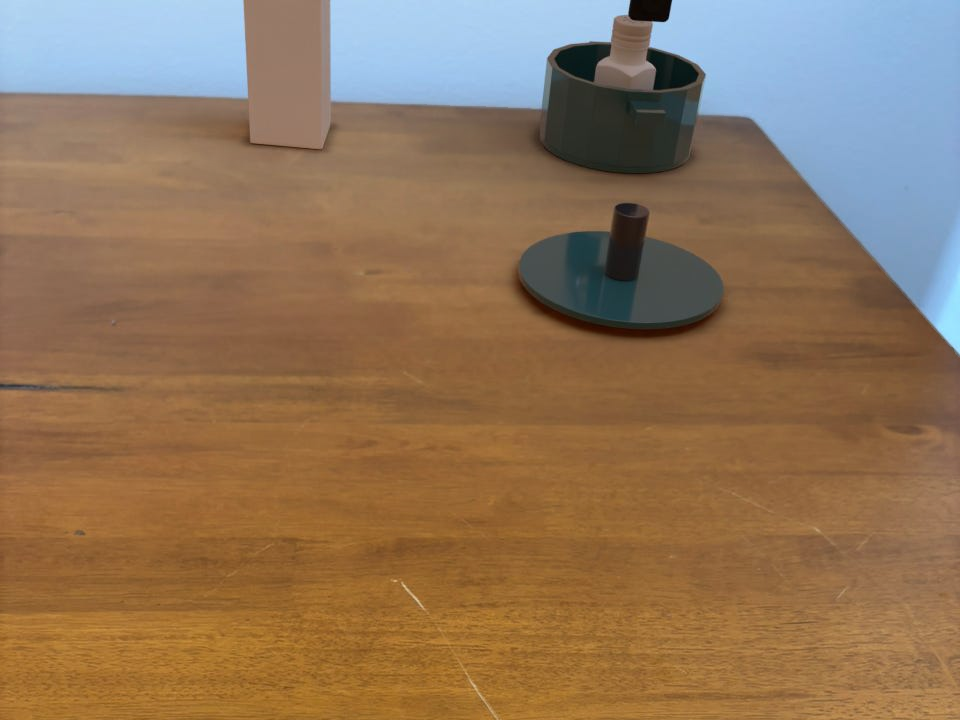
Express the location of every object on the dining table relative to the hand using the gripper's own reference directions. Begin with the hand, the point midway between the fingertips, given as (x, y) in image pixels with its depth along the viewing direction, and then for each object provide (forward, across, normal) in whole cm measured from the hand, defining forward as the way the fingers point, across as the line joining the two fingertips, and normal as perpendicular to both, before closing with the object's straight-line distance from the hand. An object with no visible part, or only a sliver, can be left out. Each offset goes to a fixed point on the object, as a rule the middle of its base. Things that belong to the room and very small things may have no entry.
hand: (633, 2), depth 96 cm
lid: (+10, -28, +6) cm, 31 cm away
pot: (+11, 0, 0) cm, 11 cm away
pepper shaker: (+11, 0, 0) cm, 11 cm away
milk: (+12, 0, +28) cm, 30 cm away
